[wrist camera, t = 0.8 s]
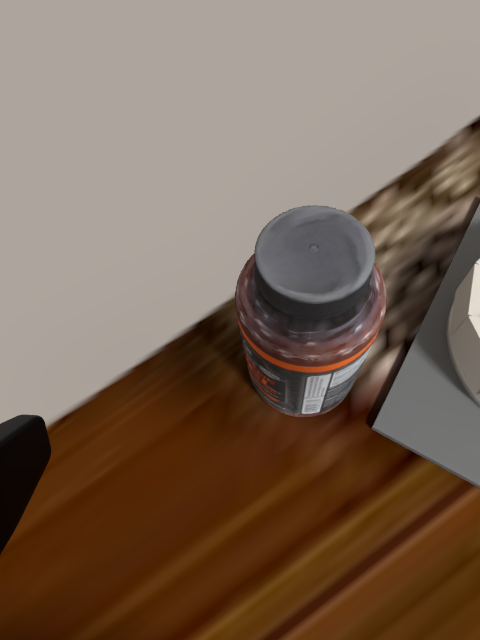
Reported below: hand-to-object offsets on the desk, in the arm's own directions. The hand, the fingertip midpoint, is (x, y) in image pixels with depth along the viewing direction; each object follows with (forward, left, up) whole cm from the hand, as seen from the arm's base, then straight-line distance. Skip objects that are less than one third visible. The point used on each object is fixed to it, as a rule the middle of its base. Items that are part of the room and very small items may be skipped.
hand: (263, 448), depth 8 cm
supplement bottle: (+7, -3, -14) cm, 16 cm away
